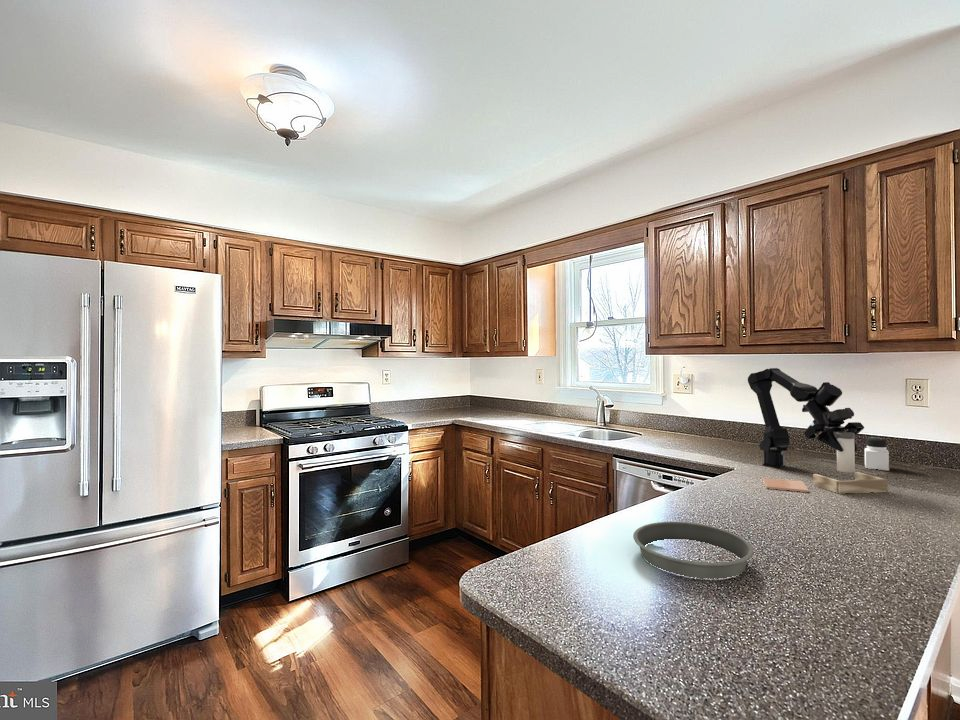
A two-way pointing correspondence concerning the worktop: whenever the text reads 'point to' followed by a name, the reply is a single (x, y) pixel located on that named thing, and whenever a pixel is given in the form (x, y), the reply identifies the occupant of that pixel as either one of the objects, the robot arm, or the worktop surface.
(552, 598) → the worktop surface
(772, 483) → the terracotta tile
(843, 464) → the cream spice jar
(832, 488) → the birch stall
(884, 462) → the medicine bottle
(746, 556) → the grey thin ring
